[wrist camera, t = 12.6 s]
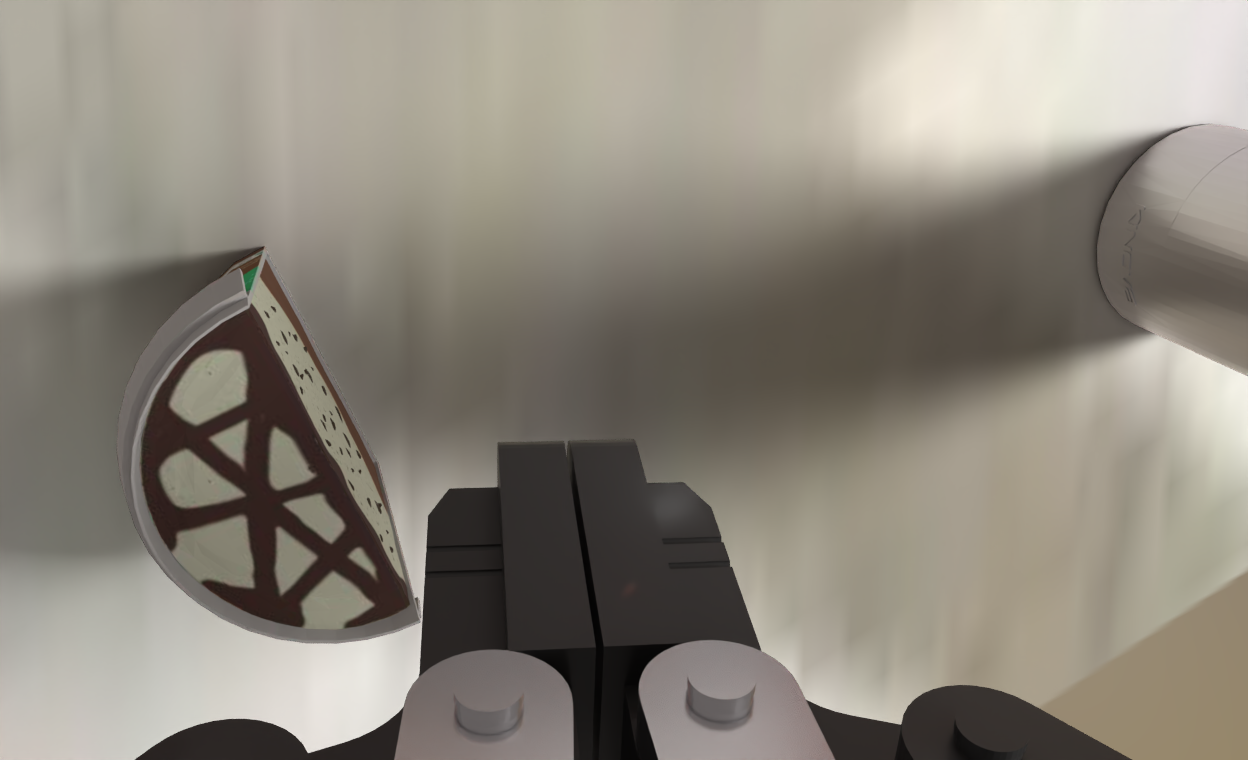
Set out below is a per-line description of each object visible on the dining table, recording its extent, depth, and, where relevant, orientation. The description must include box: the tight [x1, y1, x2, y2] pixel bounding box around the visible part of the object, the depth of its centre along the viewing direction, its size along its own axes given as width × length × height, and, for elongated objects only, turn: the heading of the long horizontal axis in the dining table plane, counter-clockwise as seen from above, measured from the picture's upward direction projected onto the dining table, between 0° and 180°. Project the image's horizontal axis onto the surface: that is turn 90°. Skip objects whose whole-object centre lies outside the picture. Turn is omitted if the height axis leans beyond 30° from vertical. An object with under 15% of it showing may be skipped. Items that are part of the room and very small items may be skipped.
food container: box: [117, 246, 421, 643], centre depth 37 cm, size 12×6×10 cm, turn 20°
